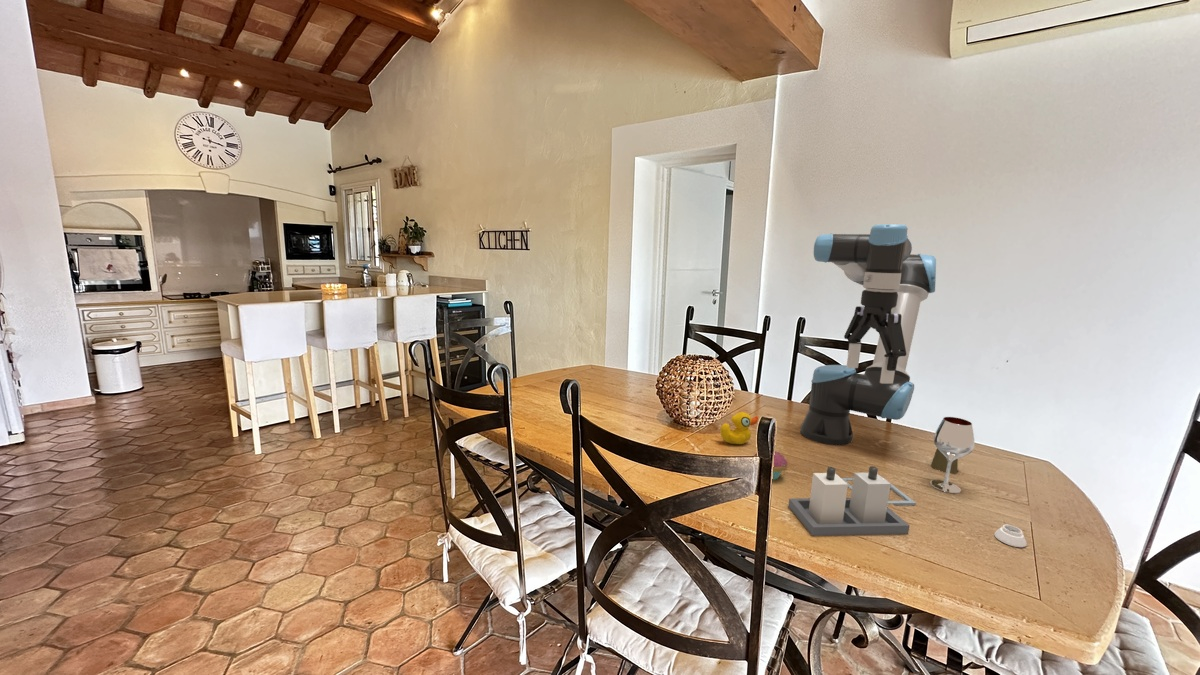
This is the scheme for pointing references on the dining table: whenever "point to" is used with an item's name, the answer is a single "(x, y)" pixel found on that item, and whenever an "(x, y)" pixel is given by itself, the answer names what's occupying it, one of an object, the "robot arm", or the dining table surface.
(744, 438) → the duckling
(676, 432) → the dining table surface
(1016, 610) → the dining table surface
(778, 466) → the cupcake
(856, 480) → the white block with peg
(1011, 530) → the white short tapered ring
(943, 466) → the cork
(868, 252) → the robot arm
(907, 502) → the square frame
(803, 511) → the two-slot grey rack
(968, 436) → the wineglass
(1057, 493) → the dining table surface
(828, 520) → the white plug
